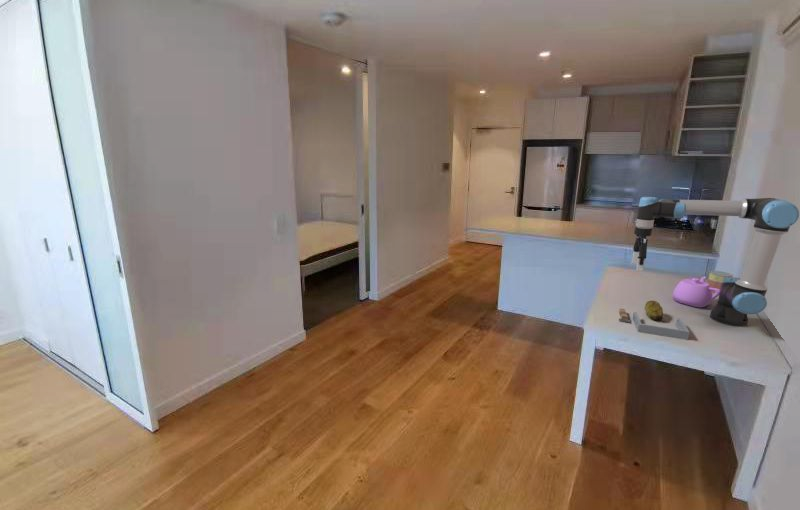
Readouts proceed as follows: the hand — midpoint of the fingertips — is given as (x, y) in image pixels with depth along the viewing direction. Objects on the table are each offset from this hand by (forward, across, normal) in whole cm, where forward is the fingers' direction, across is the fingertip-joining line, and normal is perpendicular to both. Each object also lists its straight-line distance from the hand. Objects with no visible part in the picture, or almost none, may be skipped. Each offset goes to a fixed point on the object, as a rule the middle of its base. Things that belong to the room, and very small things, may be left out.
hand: (636, 267), depth 197 cm
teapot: (+27, -32, +36) cm, 56 cm away
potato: (+27, 0, +11) cm, 29 cm away
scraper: (+27, +7, -4) cm, 28 cm away
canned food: (+27, -62, +58) cm, 89 cm away
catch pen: (+26, +15, +11) cm, 32 cm away
